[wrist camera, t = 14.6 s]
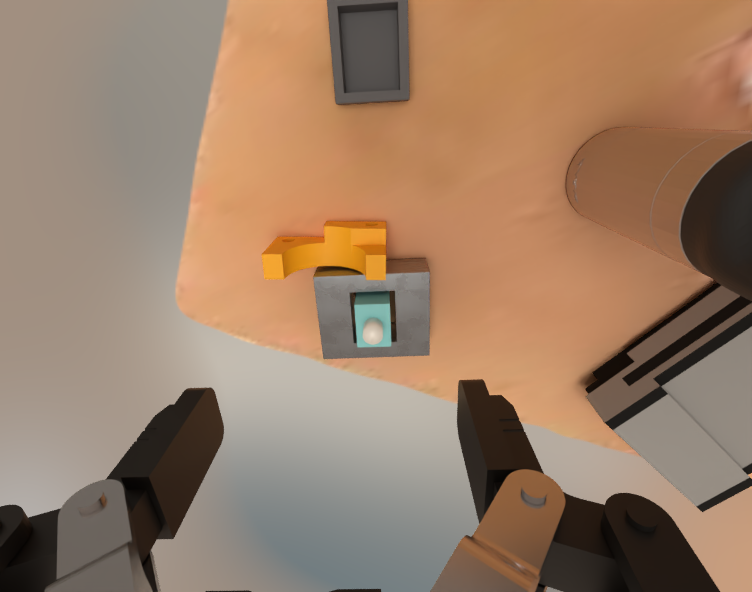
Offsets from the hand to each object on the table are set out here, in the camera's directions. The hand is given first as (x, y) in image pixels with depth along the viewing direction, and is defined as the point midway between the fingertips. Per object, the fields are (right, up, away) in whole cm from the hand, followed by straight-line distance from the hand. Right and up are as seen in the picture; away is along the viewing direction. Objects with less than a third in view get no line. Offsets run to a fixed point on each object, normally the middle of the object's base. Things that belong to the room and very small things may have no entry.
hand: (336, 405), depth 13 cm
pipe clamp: (-4, +10, +31) cm, 33 cm away
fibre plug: (+1, +3, +34) cm, 34 cm away
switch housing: (+1, +3, +34) cm, 34 cm away
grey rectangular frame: (+1, +26, +24) cm, 35 cm away
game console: (+45, -3, +36) cm, 58 cm away
